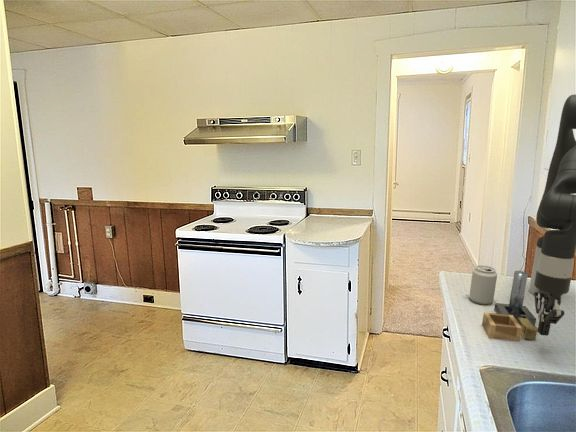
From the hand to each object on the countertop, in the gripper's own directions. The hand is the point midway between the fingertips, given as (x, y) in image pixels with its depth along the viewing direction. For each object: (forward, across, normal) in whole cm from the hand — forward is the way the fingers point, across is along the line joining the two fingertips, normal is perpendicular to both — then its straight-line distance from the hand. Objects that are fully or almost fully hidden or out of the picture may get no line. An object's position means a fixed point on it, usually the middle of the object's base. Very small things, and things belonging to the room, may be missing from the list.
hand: (542, 333), depth 108 cm
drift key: (+5, +10, 0) cm, 12 cm away
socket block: (+5, +20, 0) cm, 21 cm away
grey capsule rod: (+5, +20, 0) cm, 21 cm away
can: (+6, +31, +7) cm, 33 cm away
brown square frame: (+6, +9, +7) cm, 13 cm away
